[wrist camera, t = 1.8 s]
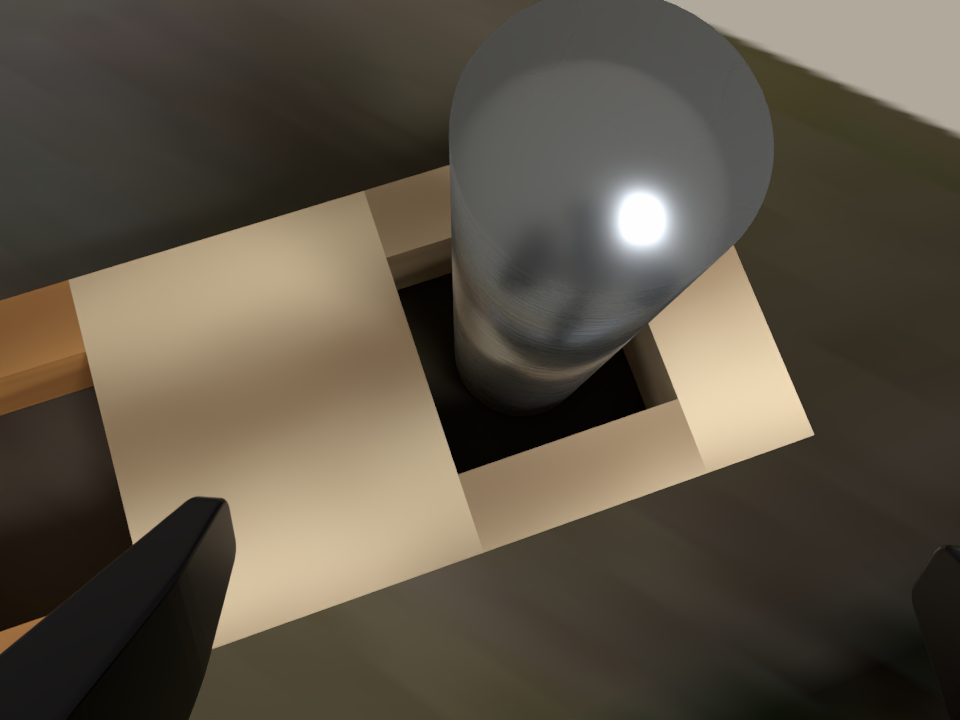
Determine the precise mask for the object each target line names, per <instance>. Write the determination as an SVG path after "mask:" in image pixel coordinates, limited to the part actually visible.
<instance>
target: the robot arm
mask: <svg viewBox="0 0 960 720" xmlns="http://www.w3.org/2000/svg"><path fill="white" fill-rule="evenodd" d="M235 556H236V539H235V534H234V529H233V523H232V518H231V513H230V507H229V504H228V502H227V501H226V500H225V499H223V498H219V497H204V496H195V497H192V498H190V499H188V500H187V501H186V502H184V503H183V504H182V505H181V506H179V507H178V508H177V509H176V510H175V511H173V512H172V513H171V514H170V515H169V516H167V517H166V518H165V519H164V520H162V521H161V522H160V523H159V524H158V525H156V526H155V527H154V528H153V529H152V530H150V531H149V532H148V533H147V534H145V535H144V536H143V537H142V538H141V539H139V540H138V541H137V542H136V543H135V544H133V545H132V546H131V547H130V548H128V549H127V550H126V551H125V552H124V553H122V554H121V555H120V556H119V557H117V558H116V559H115V560H114V561H113V562H111V563H110V564H109V565H108V566H107V567H105V568H104V569H103V570H102V571H100V572H99V573H98V574H97V575H96V576H94V577H93V578H92V579H91V580H90V581H88V582H87V583H86V584H85V585H83V586H82V587H81V588H80V589H79V590H77V591H76V592H75V593H74V594H73V595H71V596H70V597H69V598H68V599H66V600H65V601H64V602H63V603H62V604H60V605H59V606H58V607H57V608H56V609H54V610H53V611H52V612H51V613H49V614H48V615H47V616H46V617H45V618H43V619H42V620H41V621H40V622H39V623H37V624H36V625H35V626H34V627H32V628H31V629H30V630H29V631H28V632H26V633H25V634H24V635H23V636H22V637H20V638H19V639H18V640H17V641H15V642H14V643H13V644H12V645H11V646H9V647H8V648H7V649H6V650H4V651H3V652H2V653H1V654H0V720H189V717H190V715H191V712H192V709H193V707H194V704H195V701H196V699H197V696H198V693H199V690H200V688H201V685H202V682H203V679H204V676H205V672H206V669H207V665H208V662H209V658H210V654H211V650H212V647H213V643H214V639H215V635H216V631H217V627H218V623H219V619H220V616H221V612H222V608H223V604H224V600H225V596H226V592H227V588H228V585H229V581H230V577H231V573H232V569H233V565H234V561H235ZM912 602H913V607H914V610H915V613H916V616H917V619H918V623H919V626H920V629H921V632H922V635H923V639H924V642H925V645H926V648H927V652H928V655H929V658H930V661H931V664H932V668H933V671H934V674H935V677H936V680H937V684H938V687H939V690H940V693H941V696H942V700H943V703H944V706H945V709H946V711H947V714H948V717H949V720H960V546H957V545H943V546H941V547H939V548H938V549H937V550H936V551H935V552H934V554H933V555H932V557H931V558H930V560H929V561H928V563H927V565H926V566H925V568H924V569H923V571H922V572H921V574H920V576H919V577H918V579H917V580H916V582H915V584H914V586H913V590H912Z"/></svg>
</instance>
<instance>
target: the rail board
mask: <svg viewBox="0 0 960 720" xmlns="http://www.w3.org/2000/svg"><path fill="white" fill-rule="evenodd" d="M450 273H452V238H451V199H450V165H448V166H444V167H441V168H438V169H434V170H431V171H428V172H424V173H421V174H418V175H415V176H411V177H408V178H405V179H401V180H398V181H395V182H391V183H388V184H385V185H381V186H378V187H375V188H371V189H368V190H365V191H362V192H358V193H355V194H352V195H348V196H345V197H342V198H338V199H335V200H332V201H328V202H325V203H322V204H318V205H315V206H312V207H308V208H305V209H302V210H299V211H295V212H292V213H289V214H285V215H282V216H279V217H275V218H272V219H269V220H265V221H262V222H259V223H255V224H252V225H249V226H246V227H242V228H239V229H236V230H232V231H229V232H226V233H222V234H219V235H216V236H212V237H209V238H206V239H202V240H199V241H196V242H192V243H189V244H186V245H183V246H179V247H176V248H173V249H169V250H166V251H163V252H159V253H156V254H153V255H149V256H146V257H143V258H139V259H136V260H133V261H130V262H126V263H123V264H120V265H116V266H113V267H110V268H106V269H103V270H100V271H96V272H93V273H90V274H86V275H83V276H80V277H76V278H73V279H70V280H67V281H63V282H60V283H57V284H53V285H50V286H47V287H43V288H40V289H37V290H33V291H30V292H27V293H23V294H20V295H17V296H14V297H10V298H7V299H4V300H0V416H1V415H4V414H7V413H10V412H13V411H17V410H20V409H23V408H26V407H29V406H32V405H35V404H39V403H42V402H45V401H48V400H51V399H54V398H58V397H61V396H64V395H67V394H70V393H73V392H77V391H80V390H83V389H86V388H89V387H92V386H94V387H95V391H96V395H97V399H98V404H99V408H100V412H101V416H102V420H103V424H104V428H105V432H106V436H107V441H108V445H109V449H110V453H111V457H112V461H113V465H114V469H115V473H116V477H117V482H118V486H119V490H120V494H121V498H122V502H123V506H124V510H125V514H126V519H127V523H128V527H129V531H130V535H131V539H132V543H133V544H135V543H136V542H137V541H138V540H139V539H141V538H142V537H143V536H144V535H145V534H147V533H148V532H149V531H150V530H152V529H153V528H154V527H155V526H156V525H158V524H159V523H160V522H161V521H162V520H164V519H165V518H166V517H167V516H169V515H170V514H171V513H172V512H173V511H175V510H176V509H177V508H178V507H179V506H181V505H182V504H183V503H184V502H186V501H187V500H188V499H190V498H192V497H195V496H204V497H219V498H223V499H225V500H226V501H227V502H228V504H229V507H230V513H231V518H232V523H233V529H234V534H235V539H236V556H235V561H234V565H233V569H232V573H231V577H230V581H229V585H228V588H227V592H226V596H225V600H224V604H223V608H222V612H221V616H220V619H219V623H218V627H217V631H216V635H215V639H214V643H213V647H212V649H214V648H217V647H219V646H222V645H225V644H228V643H231V642H233V641H236V640H239V639H242V638H245V637H247V636H250V635H253V634H256V633H259V632H262V631H264V630H267V629H270V628H273V627H276V626H278V625H281V624H284V623H287V622H290V621H292V620H295V619H298V618H301V617H304V616H307V615H309V614H312V613H315V612H318V611H321V610H323V609H326V608H329V607H332V606H335V605H337V604H340V603H343V602H346V601H349V600H352V599H354V598H357V597H360V596H363V595H366V594H368V593H371V592H374V591H377V590H380V589H382V588H385V587H388V586H391V585H394V584H397V583H399V582H402V581H405V580H408V579H411V578H413V577H416V576H419V575H422V574H425V573H427V572H430V571H433V570H436V569H439V568H442V567H444V566H447V565H450V564H453V563H456V562H458V561H461V560H464V559H467V558H470V557H472V556H475V555H478V554H481V553H484V552H486V551H489V550H492V549H495V548H498V547H501V546H503V545H506V544H509V543H512V542H515V541H517V540H520V539H523V538H526V537H529V536H531V535H534V534H537V533H540V532H543V531H546V530H548V529H551V528H554V527H557V526H560V525H562V524H565V523H568V522H571V521H574V520H576V519H579V518H582V517H585V516H588V515H591V514H593V513H596V512H599V511H602V510H605V509H607V508H610V507H613V506H616V505H619V504H621V503H624V502H627V501H630V500H633V499H636V498H638V497H641V496H644V495H647V494H650V493H652V492H655V491H658V490H661V489H664V488H666V487H669V486H672V485H675V484H678V483H681V482H683V481H686V480H689V479H692V478H695V477H697V476H700V475H703V474H706V473H709V472H711V471H714V470H717V469H720V468H723V467H726V466H728V465H731V464H734V463H737V462H740V461H742V460H745V459H748V458H751V457H754V456H756V455H759V454H762V453H765V452H768V451H771V450H773V449H776V448H779V447H782V446H785V445H787V444H790V443H793V442H796V441H799V440H801V439H804V438H807V437H810V436H813V435H814V433H813V430H812V428H811V426H810V423H809V421H808V419H807V416H806V414H805V412H804V409H803V407H802V405H801V402H800V400H799V398H798V395H797V393H796V391H795V388H794V386H793V384H792V381H791V379H790V377H789V374H788V372H787V370H786V367H785V365H784V362H783V360H782V358H781V355H780V353H779V351H778V348H777V346H776V344H775V341H774V339H773V337H772V334H771V332H770V330H769V327H768V325H767V323H766V320H765V318H764V316H763V313H762V311H761V309H760V306H759V304H758V302H757V299H756V297H755V295H754V292H753V290H752V288H751V285H750V283H749V280H748V278H747V276H746V273H745V271H744V269H743V266H742V264H741V262H740V259H739V257H738V255H737V252H736V250H735V248H734V245H733V246H732V247H731V248H730V249H729V250H728V251H727V252H726V253H725V254H724V255H722V256H721V257H720V258H719V259H718V260H717V261H716V262H715V263H714V264H713V265H712V266H710V267H709V268H708V269H707V270H706V271H705V272H704V273H703V274H702V275H701V276H700V277H698V278H697V279H696V280H695V281H694V282H693V283H692V284H691V285H690V286H689V287H688V288H686V289H685V290H684V291H683V292H682V293H681V294H680V295H679V296H678V297H677V298H676V299H674V300H673V301H672V302H671V303H670V304H669V305H668V306H667V307H666V308H665V309H664V310H662V311H661V312H660V313H659V314H658V315H657V316H656V317H655V318H654V319H653V320H652V321H650V322H649V323H648V324H647V325H646V326H645V327H644V328H643V329H642V330H641V331H640V332H638V333H637V334H636V335H635V336H634V337H633V338H632V339H631V340H630V341H629V342H627V343H626V344H625V345H624V346H623V347H622V348H623V350H624V353H625V355H626V358H627V361H628V363H629V366H630V368H631V371H632V374H633V376H634V379H635V381H636V384H637V387H638V389H639V392H640V394H641V397H642V399H643V402H644V405H645V407H646V410H644V411H641V412H638V413H635V414H632V415H629V416H627V417H624V418H621V419H618V420H615V421H612V422H609V423H606V424H603V425H600V426H597V427H595V428H592V429H589V430H586V431H583V432H580V433H577V434H574V435H571V436H568V437H565V438H563V439H560V440H557V441H554V442H551V443H548V444H545V445H542V446H539V447H536V448H533V449H531V450H528V451H525V452H522V453H519V454H516V455H513V456H510V457H507V458H504V459H501V460H499V461H496V462H493V463H490V464H487V465H484V466H481V467H478V468H475V469H472V470H469V471H467V472H464V473H461V474H458V473H457V470H456V467H455V464H454V461H453V458H452V455H451V452H450V449H449V446H448V443H447V440H446V437H445V434H444V431H443V428H442V425H441V422H440V419H439V416H438V413H437V410H436V407H435V404H434V401H433V398H432V395H431V392H430V389H429V386H428V383H427V380H426V377H425V374H424V371H423V368H422V365H421V362H420V359H419V356H418V353H417V350H416V347H415V344H414V340H413V337H412V334H411V331H410V328H409V325H408V322H407V319H406V316H405V313H404V310H403V307H402V304H401V301H400V298H399V295H398V292H397V290H399V289H402V288H405V287H408V286H412V285H415V284H418V283H421V282H424V281H427V280H431V279H434V278H437V277H440V276H443V275H446V274H450ZM45 617H46V616H45ZM45 617H42V618H39V619H36V620H33V621H30V622H27V623H24V624H22V625H19V626H16V627H13V628H10V629H7V630H4V631H1V632H0V654H1V653H2V652H3V651H4V650H6V649H7V648H8V647H9V646H11V645H12V644H13V643H14V642H15V641H17V640H18V639H19V638H20V637H22V636H23V635H24V634H25V633H26V632H28V631H29V630H30V629H31V628H32V627H34V626H35V625H36V624H37V623H39V622H40V621H41V620H42V619H43V618H45Z"/></svg>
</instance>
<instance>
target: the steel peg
mask: <svg viewBox="0 0 960 720" xmlns="http://www.w3.org/2000/svg"><path fill="white" fill-rule="evenodd" d="M773 155H774V139H773V128H772V122H771V118H770V114H769V109H768V106H767V103H766V100H765V98H764V95H763V92H762V90H761V87H760V85H759V84H758V82H757V80H756V78H755V76H754V74H753V72H752V70H751V69H750V68H749V66H748V65H747V63H746V62H745V61H744V59H743V58H742V56H741V55H740V54H739V53H738V51H737V50H736V49H735V48H734V47H733V46H732V45H731V44H730V43H729V42H728V41H727V39H725V38H724V37H723V36H722V35H721V34H720V33H719V32H717V31H716V30H715V29H714V28H713V27H712V26H710V25H709V24H707V23H706V22H704V21H703V20H701V19H700V18H698V17H697V16H695V15H694V14H692V13H690V12H688V11H686V10H684V9H682V8H680V7H679V6H677V5H674V4H672V3H669V2H666V1H664V0H543V1H540V2H537V3H535V4H533V5H531V6H529V7H527V8H525V9H523V10H521V11H519V12H518V13H516V14H515V15H513V16H512V17H510V18H509V19H507V20H506V21H504V22H503V23H502V24H501V25H500V26H499V27H497V28H496V29H495V30H494V31H493V32H492V33H491V34H489V35H488V37H487V38H486V39H485V40H484V41H483V42H482V44H481V45H480V46H479V47H478V48H477V49H476V51H475V52H474V54H473V55H472V57H471V58H470V60H469V62H468V63H467V65H466V66H465V69H464V71H463V73H462V75H461V77H460V79H459V81H458V84H457V87H456V90H455V94H454V97H453V100H452V105H451V112H450V119H449V161H450V199H451V238H452V276H453V314H454V353H455V362H456V366H457V370H458V373H459V375H460V378H461V380H462V382H463V383H464V385H465V387H466V388H467V389H468V391H469V392H470V393H471V394H472V395H473V396H474V397H475V398H476V399H477V400H478V401H479V402H480V403H482V404H483V405H484V406H486V407H488V408H490V409H491V410H494V411H496V412H499V413H502V414H506V415H511V416H532V415H537V414H540V413H544V412H546V411H548V410H551V409H552V408H554V407H556V406H558V405H559V404H560V403H562V402H563V401H564V400H565V399H566V398H567V397H569V396H570V395H571V394H572V393H573V392H574V391H575V390H576V389H577V388H578V387H579V386H581V385H582V384H583V383H584V382H585V381H586V380H587V379H588V378H589V377H590V376H591V375H593V374H594V373H595V372H596V371H597V370H598V369H599V368H600V367H601V366H602V365H603V364H605V363H606V362H607V361H608V360H609V359H610V358H611V357H612V356H613V355H614V354H615V353H617V352H618V351H619V350H620V349H621V348H622V347H623V346H624V345H625V344H626V343H627V342H629V341H630V340H631V339H632V338H633V337H634V336H635V335H636V334H637V333H638V332H640V331H641V330H642V329H643V328H644V327H645V326H646V325H647V324H648V323H649V322H650V321H652V320H653V319H654V318H655V317H656V316H657V315H658V314H659V313H660V312H661V311H662V310H664V309H665V308H666V307H667V306H668V305H669V304H670V303H671V302H672V301H673V300H674V299H676V298H677V297H678V296H679V295H680V294H681V293H682V292H683V291H684V290H685V289H686V288H688V287H689V286H690V285H691V284H692V283H693V282H694V281H695V280H696V279H697V278H698V277H700V276H701V275H702V274H703V273H704V272H705V271H706V270H707V269H708V268H709V267H710V266H712V265H713V264H714V263H715V262H716V261H717V260H718V259H719V258H720V257H721V256H722V255H724V254H725V253H726V252H727V251H728V250H729V249H730V248H731V247H732V246H733V245H734V244H735V243H736V242H737V241H738V240H739V239H740V238H741V236H742V235H743V234H744V232H745V231H746V230H747V228H748V227H749V226H750V224H751V223H752V221H753V220H754V218H755V216H756V214H757V212H758V210H759V209H760V207H761V205H762V203H763V200H764V197H765V195H766V192H767V189H768V186H769V183H770V177H771V172H772V167H773Z"/></svg>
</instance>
